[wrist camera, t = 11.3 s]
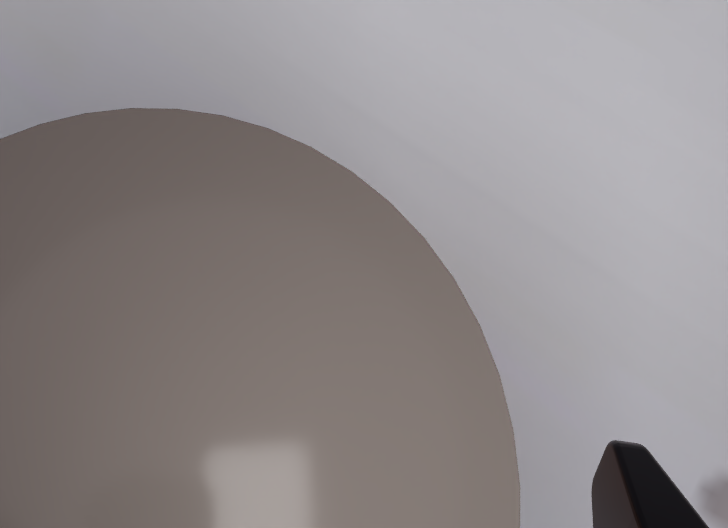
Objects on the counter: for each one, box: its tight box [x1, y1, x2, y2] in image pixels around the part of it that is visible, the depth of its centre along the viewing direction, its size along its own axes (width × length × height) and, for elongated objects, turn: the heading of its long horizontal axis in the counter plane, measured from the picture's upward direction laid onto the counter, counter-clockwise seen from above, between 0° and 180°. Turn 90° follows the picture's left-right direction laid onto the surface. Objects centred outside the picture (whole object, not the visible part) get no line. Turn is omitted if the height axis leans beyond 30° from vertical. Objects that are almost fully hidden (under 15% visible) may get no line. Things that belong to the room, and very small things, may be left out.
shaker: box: [0, 108, 520, 528], centre depth 10 cm, size 5×5×12 cm
